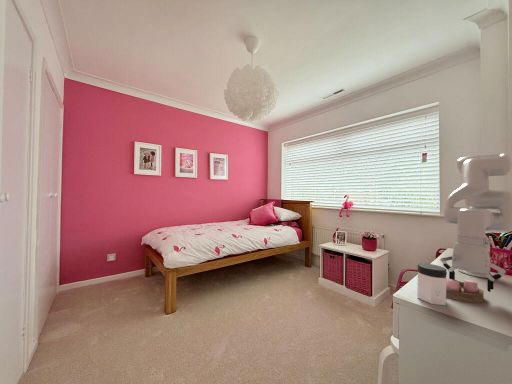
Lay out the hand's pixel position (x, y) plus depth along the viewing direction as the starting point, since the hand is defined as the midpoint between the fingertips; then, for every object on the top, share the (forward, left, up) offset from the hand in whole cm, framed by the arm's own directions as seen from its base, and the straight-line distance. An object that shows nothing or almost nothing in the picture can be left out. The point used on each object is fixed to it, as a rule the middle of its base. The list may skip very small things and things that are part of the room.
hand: (470, 285), depth 80 cm
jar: (+15, -9, -4) cm, 18 cm away
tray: (0, -4, -4) cm, 6 cm away
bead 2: (0, 0, -3) cm, 3 cm away
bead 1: (+4, -4, -3) cm, 7 cm away
